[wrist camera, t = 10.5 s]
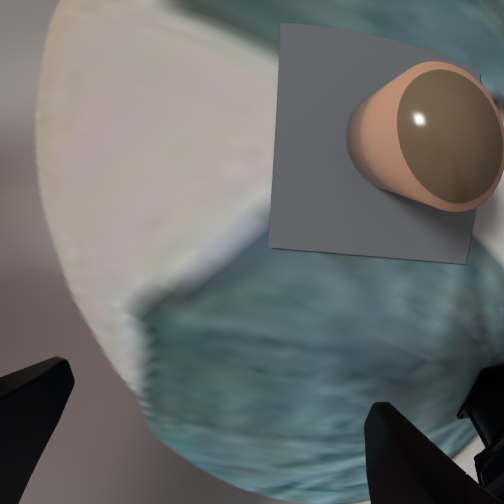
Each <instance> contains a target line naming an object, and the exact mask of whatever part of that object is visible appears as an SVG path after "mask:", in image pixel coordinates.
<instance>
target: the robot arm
mask: <svg viewBox="0 0 504 504" xmlns="http://www.w3.org/2000/svg"><path fill="white" fill-rule="evenodd" d="M74 382H75V380H74V376H73V373H72V370H71V368H70V364H69V362H68V361H67V360H66V359H64V358H61V357H58V356H56V357H53V358H50V359H47V360H45V361H42V362H40V363H37V364H35V365H32V366H29V367H27V368H24V369H21V370H19V371H16V372H13V373H11V374H8V375H5V376H3V377H0V504H19V501H20V499H21V497H22V495H23V492H24V490H25V488H26V486H27V483H28V481H29V479H30V477H31V475H32V473H33V471H34V469H35V467H36V465H37V463H38V460H39V459H40V457H41V454H42V453H43V451H44V449H45V447H46V445H47V443H48V441H49V439H50V437H51V435H52V433H53V431H54V429H55V428H56V426H57V424H58V422H59V420H60V417H61V415H62V413H63V410H64V408H65V405H66V403H67V401H68V398H69V396H70V394H71V391H72V389H73V387H74ZM468 417H469V418H470V419H471V421H472V423H473V425H474V427H475V429H476V431H477V432H478V434H479V436H480V438H481V440H482V442H483V444H484V446H485V449H484V450H483V451H482V452H480V453H478V454H477V455H476V456H475V457H474V461H475V468H476V472H477V477H478V482H479V484H478V483H477V482H476V481H475V480H474V479H473V478H472V477H470V476H469V475H468V474H467V475H466V472H465V471H464V470H462V469H461V468H460V467H459V466H458V465H457V464H456V463H455V462H454V461H452V460H451V459H450V458H449V457H448V456H447V455H446V454H445V453H444V452H442V451H441V450H440V449H439V448H438V447H437V446H436V445H435V444H434V443H433V442H431V441H430V440H429V439H428V438H427V437H426V436H425V435H424V434H423V433H422V432H421V431H419V430H418V429H417V428H416V427H415V426H414V425H413V424H412V423H411V422H410V421H409V420H408V419H406V418H405V417H404V416H403V415H402V414H401V413H400V412H399V411H398V410H397V409H396V408H395V407H393V406H392V405H391V404H390V403H389V402H376V403H374V404H373V405H372V407H371V409H370V412H369V414H368V416H367V419H366V421H365V425H364V434H365V453H366V474H367V481H368V488H369V494H370V501H371V504H504V365H502V366H496V367H490V368H485V369H483V370H482V371H481V373H480V375H479V377H478V379H477V381H476V382H475V384H474V386H473V388H472V390H471V392H470V394H469V395H468V397H467V399H466V401H465V402H464V404H463V406H462V407H461V409H460V411H459V412H458V414H457V418H458V419H464V418H468Z"/></svg>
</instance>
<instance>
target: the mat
mask: <svg viewBox="0 0 504 504" xmlns="http://www.w3.org/2000/svg"><path fill="white" fill-rule="evenodd" d="M429 61H438V62H445V63H449V64H452V65H455V66H457V67H459V68H461V69H463V70H464V71H466V72H467V73H469V74H470V75H471V76H473V77H474V78H475V79H476V80H477V81H478V82H479V83H480V84H481V82H480V71H479V70H478V69H476V68H473V67H471V66H469V65H466V64H464V63H461V62H459V61H456V60H454V59H451V58H449V57H446V56H443V55H440V54H438V53H435V52H432V51H429V50H426V49H423V48H420V47H416V46H413V45H410V44H406V43H403V42H399V41H395V40H391V39H387V38H383V37H379V36H374V35H370V34H365V33H360V32H355V31H349V30H343V29H337V28H330V27H322V26H314V25H304V24H292V23H281V27H280V51H279V72H278V92H277V111H276V129H275V146H274V163H273V179H272V194H271V209H270V223H269V238H268V248H280V249H292V250H305V251H317V252H329V253H341V254H353V255H365V256H376V257H388V258H400V259H411V260H423V261H434V262H445V263H456V264H465V263H466V259H467V255H468V250H469V245H470V241H471V235H472V230H473V224H474V218H475V212H476V207H475V208H473V209H471V210H467V211H462V212H450V211H445V210H441V209H438V208H436V207H433V206H430V205H427V204H425V203H422V202H419V201H416V200H413V199H410V198H407V197H404V196H401V195H398V194H395V193H392V192H389V191H386V190H383V189H380V188H378V187H376V186H374V185H372V184H371V183H369V182H368V181H367V180H365V179H364V178H363V177H362V176H361V174H360V173H359V172H358V171H357V169H356V168H355V166H354V165H353V163H352V161H351V158H350V156H349V153H348V149H347V142H346V132H347V126H348V122H349V119H350V117H351V115H352V113H353V111H354V110H355V109H356V107H357V106H358V105H359V104H360V103H361V102H363V101H364V100H365V99H367V98H368V97H370V96H371V95H372V94H374V93H375V92H377V91H378V90H379V89H381V88H382V87H384V86H385V85H387V84H388V83H390V82H391V81H392V80H394V79H395V78H397V77H398V76H400V75H401V74H403V73H404V72H406V71H407V70H409V69H410V68H412V67H413V66H415V65H418V64H420V63H424V62H429Z"/></svg>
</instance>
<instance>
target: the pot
mask: <svg viewBox="0 0 504 504" xmlns="http://www.w3.org/2000/svg"><path fill="white" fill-rule="evenodd" d="M346 142H347V149H348V153H349V156H350V158H351V161H352V163H353V165H354V166H355V168H356V169H357V171H358V172H359V173H360V174H361V176H362V177H363V178H364V179H365V180H367V181H368V182H369V183H371V184H372V185H374V186H376V187H378V188H380V189H383V190H386V191H389V192H392V193H395V194H398V195H401V196H404V197H407V198H410V199H413V200H416V201H419V202H422V203H425V204H427V205H430V206H433V207H436V208H438V209H441V210H445V211H450V212H462V211H467V210H471V209H473V208H475V207H477V206H479V205H480V204H482V203H483V202H485V201H486V200H487V199H488V198H489V197H490V196H491V194H492V193H493V192H494V190H495V189H496V187H497V185H498V183H499V181H500V179H501V176H502V173H503V170H504V127H503V123H502V120H501V117H500V114H499V112H498V110H497V107H496V105H495V104H494V102H493V100H492V98H491V97H490V95H489V94H488V92H487V91H486V90H485V88H484V87H483V86H482V85H481V84H480V83H479V82H478V81H477V80H476V79H475V78H474V77H473V76H471V75H470V74H469V73H467V72H466V71H464V70H463V69H461V68H459V67H457V66H455V65H452V64H449V63H445V62H438V61H429V62H424V63H420V64H418V65H415V66H413V67H412V68H410V69H409V70H407V71H406V72H404V73H403V74H401V75H400V76H398V77H397V78H395V79H394V80H392V81H391V82H390V83H388V84H387V85H385V86H384V87H382V88H381V89H379V90H378V91H377V92H375V93H374V94H372V95H371V96H370V97H368V98H367V99H365V100H364V101H363V102H361V103H360V104H359V105H358V106H357V107H356V109H355V110H354V111H353V113H352V115H351V117H350V119H349V122H348V126H347V132H346Z"/></svg>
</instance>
